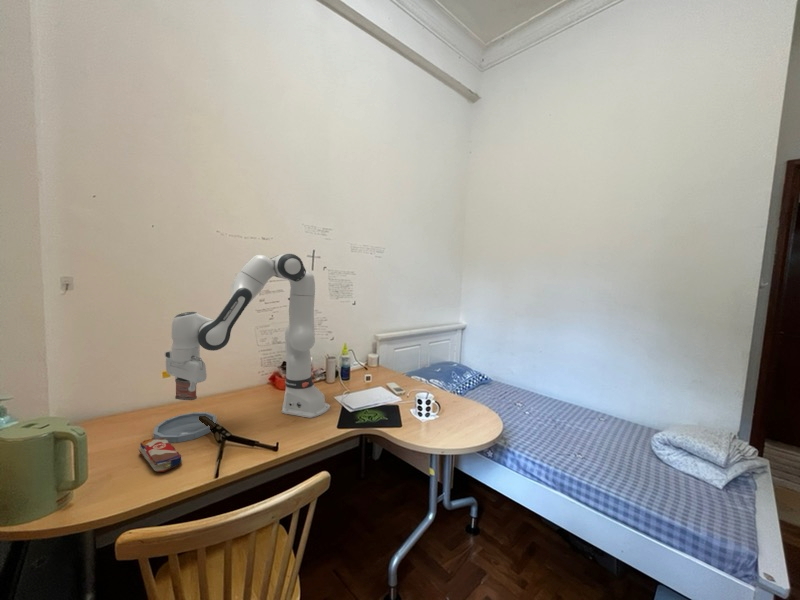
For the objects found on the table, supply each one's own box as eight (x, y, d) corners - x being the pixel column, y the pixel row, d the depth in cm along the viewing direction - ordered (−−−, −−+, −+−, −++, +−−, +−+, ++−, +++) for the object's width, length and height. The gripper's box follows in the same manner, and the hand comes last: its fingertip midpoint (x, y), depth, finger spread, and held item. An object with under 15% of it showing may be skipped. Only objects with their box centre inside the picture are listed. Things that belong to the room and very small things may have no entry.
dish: (227, 424, 125) (227, 419, 124) (173, 448, 107) (173, 442, 106) (197, 413, 133) (197, 408, 133) (142, 433, 115) (142, 428, 115)
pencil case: (178, 442, 111) (178, 428, 111) (183, 469, 96) (182, 454, 96) (139, 452, 104) (138, 437, 104) (136, 483, 89) (136, 467, 89)
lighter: (199, 397, 120) (199, 372, 119) (192, 400, 117) (192, 375, 116) (180, 395, 121) (179, 371, 120) (172, 399, 118) (172, 373, 117)
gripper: (211, 356, 116) (211, 392, 117) (179, 348, 125) (179, 381, 126) (193, 360, 110) (194, 397, 111) (161, 352, 119) (162, 386, 120)
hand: (186, 389), depth 119 cm, fingers closed on lighter, 6 cm apart
